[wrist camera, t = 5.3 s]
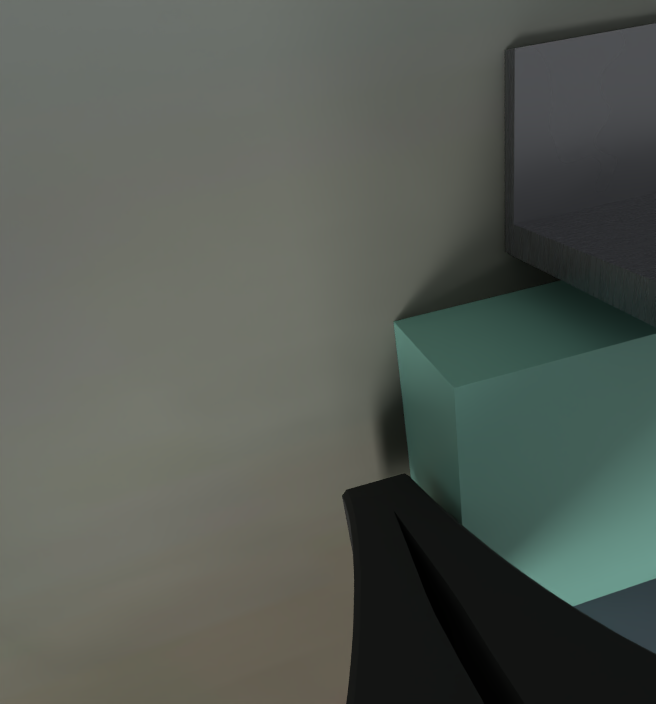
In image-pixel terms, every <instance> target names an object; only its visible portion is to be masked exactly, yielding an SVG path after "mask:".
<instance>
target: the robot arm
mask: <svg viewBox="0 0 656 704" xmlns="http://www.w3.org/2000/svg"><path fill="white" fill-rule="evenodd" d="M342 498H343V503H344V508H345V514H346V519H347V524H348V530H349V535H350V540H351V546H352V551H353V561H354V620H353V641H352V654H351V666H350V676H349V686H348V695H347V702H346V704H656V654H655V653H653V652H652V651H650V650H648V649H646V648H644V647H642V646H640V645H638V644H637V643H635V642H633V641H631V640H629V639H627V638H625V637H623V636H622V635H620V634H618V633H616V632H615V631H613V630H611V629H610V628H608V627H606V626H605V625H603V624H601V623H600V622H598V621H596V620H594V619H593V618H591V617H589V616H588V615H586V614H584V613H583V612H581V611H580V610H578V609H577V608H575V607H573V606H572V605H570V604H569V603H567V602H566V601H564V600H562V599H561V598H559V597H558V596H556V595H555V594H553V593H552V592H550V591H549V590H547V589H546V588H544V587H543V586H541V585H540V584H538V583H537V582H536V581H534V580H533V579H531V578H530V577H528V576H527V575H526V574H524V573H523V572H522V571H520V570H519V569H518V568H516V567H515V566H513V565H512V564H511V563H509V562H508V561H507V560H505V559H504V558H503V557H501V556H500V555H499V554H497V553H496V552H495V551H494V550H492V549H491V548H490V547H488V546H487V545H486V544H485V543H484V542H482V541H481V540H480V539H479V538H477V537H476V536H475V535H474V534H473V533H471V532H470V531H469V530H468V529H466V528H465V527H464V526H463V525H462V524H460V523H459V522H458V521H457V520H456V519H455V518H453V517H452V516H451V515H450V514H449V513H448V512H447V511H446V510H445V509H443V508H442V507H441V506H440V505H439V504H438V503H437V502H436V501H435V500H434V499H432V498H431V497H430V496H429V495H428V494H427V493H426V492H425V491H424V490H423V489H422V488H421V487H420V486H419V485H418V484H417V483H416V482H415V481H414V480H413V479H412V478H411V477H410V476H408V475H406V474H405V473H404V474H401V475H397V476H394V477H390V478H387V479H383V480H380V481H376V482H372V483H369V484H365V485H362V486H358V487H355V488H351V489H348V490H346V491H345V493H344V494H343V495H342Z"/></svg>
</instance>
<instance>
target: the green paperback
mask: <svg viewBox="0 0 656 704" xmlns="http://www.w3.org/2000/svg"><path fill="white" fill-rule="evenodd" d="M394 329H395V338H396V347H397V356H398V365H399V374H400V383H401V392H402V401H403V410H404V419H405V428H406V437H407V445H408V454H409V463H410V472H411V478H412V479H413V480H414V481H415V482H416V483H417V484H418V485H419V486H420V487H421V488H422V489H423V490H424V491H425V492H426V493H427V494H428V495H429V496H430V497H431V498H432V499H434V500H435V501H436V502H437V503H438V504H439V505H440V506H441V507H442V508H443V509H445V510H446V511H447V512H448V513H449V514H450V515H451V516H452V517H453V518H455V519H456V520H457V521H458V522H459V523H460V524H462V525H463V526H464V527H465V528H466V529H468V530H469V531H470V532H471V533H473V534H474V535H475V536H476V537H477V538H479V539H480V540H481V541H482V542H484V543H485V544H486V545H487V546H488V547H490V548H491V549H492V550H494V551H495V552H496V553H497V554H499V555H500V556H501V557H503V558H504V559H505V560H507V561H508V562H509V563H511V564H512V565H513V566H515V567H516V568H518V569H519V570H520V571H522V572H523V573H524V574H526V575H527V576H528V577H530V578H531V579H533V580H534V581H536V582H537V583H538V584H540V585H541V586H543V587H544V588H546V589H547V590H549V591H550V592H552V593H553V594H555V595H556V596H558V597H559V598H561V599H562V600H564V601H566V602H567V603H569V604H570V605H572V606H575V605H578V604H581V603H584V602H587V601H590V600H593V599H596V598H599V597H602V596H605V595H608V594H611V593H614V592H617V591H620V590H623V589H626V588H629V587H632V586H635V585H638V584H640V583H643V582H646V581H649V580H652V579H655V578H656V327H654V326H652V325H650V324H648V323H646V322H644V321H642V320H640V319H638V318H636V317H634V316H632V315H630V314H628V313H626V312H624V311H622V310H620V309H618V308H616V307H614V306H612V305H610V304H608V303H606V302H604V301H602V300H600V299H598V298H596V297H594V296H592V295H590V294H588V293H586V292H584V291H582V290H580V289H578V288H576V287H574V286H572V285H570V284H568V283H566V282H564V281H562V280H560V281H556V282H552V283H548V284H544V285H540V286H536V287H532V288H528V289H524V290H520V291H516V292H512V293H507V294H503V295H499V296H495V297H491V298H487V299H483V300H479V301H475V302H471V303H467V304H463V305H459V306H455V307H451V308H447V309H443V310H438V311H434V312H430V313H426V314H422V315H418V316H414V317H410V318H406V319H402V320H398V321H394Z"/></svg>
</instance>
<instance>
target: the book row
mask: <svg viewBox="0 0 656 704" xmlns="http://www.w3.org/2000/svg"><path fill="white" fill-rule="evenodd" d="M573 607H575V608H577V609H578V610H580V611H581V612H583V613H584V614H586V615H588V616H589V617H591V618H593V619H594V620H596V621H598V622H600V623H601V624H603V625H605V626H606V627H608V628H610V629H611V630H613V631H615V632H616V633H618V634H620V635H622V636H623V637H625V638H627V639H629V640H631V641H633V642H635V643H637V644H638V645H640V646H642V647H644V648H646V649H648V650H650V651H652V652H653V653H655V654H656V578H655V579H652V580H649V581H646V582H643V583H640V584H638V585H635V586H632V587H629V588H626V589H623V590H620V591H617V592H614V593H611V594H608V595H605V596H602V597H599V598H596V599H593V600H590V601H587V602H584V603H581V604H578V605H575V606H573Z"/></svg>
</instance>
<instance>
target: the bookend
mask: <svg viewBox="0 0 656 704" xmlns="http://www.w3.org/2000/svg"><path fill="white" fill-rule="evenodd" d="M505 252H506V253H508V254H510V255H512V256H514V257H516V258H518V259H520V260H522V261H524V262H526V263H528V264H530V265H532V266H534V267H536V268H538V269H540V270H542V271H544V272H546V273H548V274H550V275H552V276H554V277H556V278H558V279H560V280H562V281H564V282H566V283H568V284H570V285H572V286H574V287H576V288H578V289H580V290H582V291H584V292H586V293H588V294H590V295H592V296H594V297H596V298H598V299H600V300H602V301H604V302H606V303H608V304H610V305H612V306H614V307H616V308H618V309H620V310H622V311H624V312H626V313H628V314H630V315H632V316H634V317H636V318H638V319H640V320H642V321H644V322H646V323H648V324H650V325H652V326H654V327H656V23H653V24H647V25H642V26H636V27H630V28H625V29H619V30H614V31H608V32H602V33H597V34H591V35H585V36H580V37H574V38H569V39H563V40H557V41H552V42H546V43H541V44H535V45H529V46H524V47H518V48H513V49H507V50H505Z"/></svg>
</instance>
